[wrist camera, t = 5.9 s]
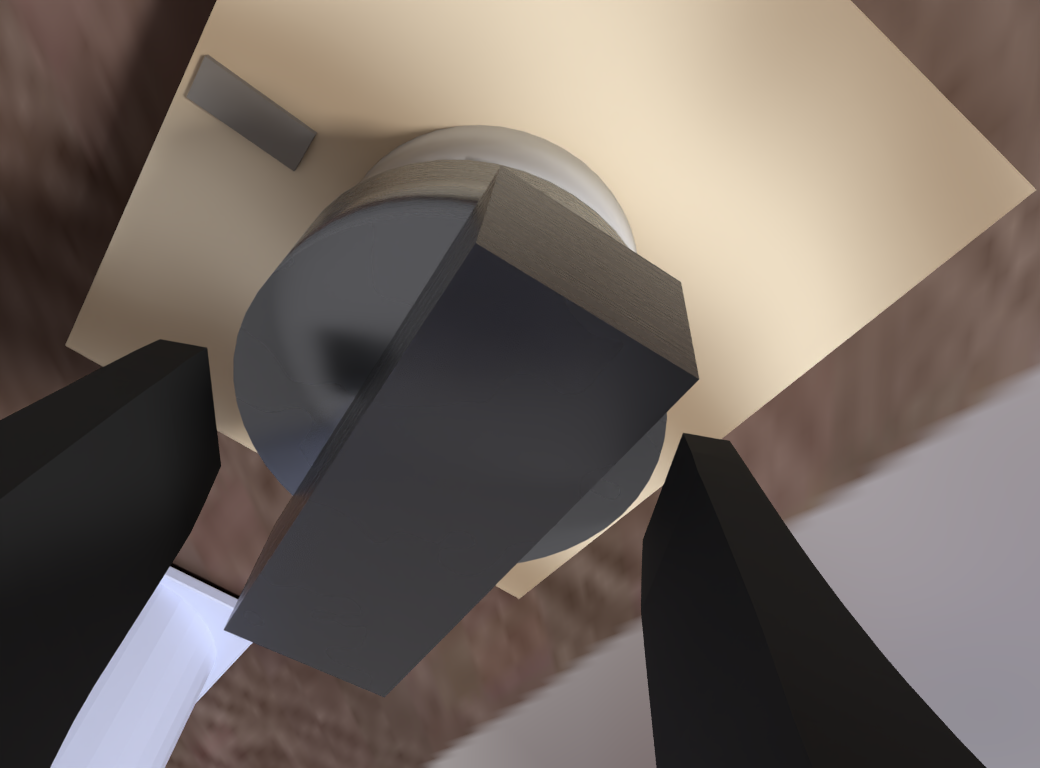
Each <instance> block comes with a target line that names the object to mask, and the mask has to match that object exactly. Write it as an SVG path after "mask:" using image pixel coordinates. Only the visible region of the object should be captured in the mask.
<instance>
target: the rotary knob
mask: <svg viewBox="0 0 1040 768" xmlns="http://www.w3.org/2000/svg"><path fill="white" fill-rule="evenodd" d="M698 380H699V375H698V369H697V364H696V359H695V353H694V348H693V343H692V337H691V332H690V327H689V321H688V316H687V311H686V305H685V300H684V295H683V289H682V284H681V282H680V281H679V280H677V279H676V278H674V277H673V276H671V275H669V274H668V273H666V272H665V271H663V270H662V269H660V268H659V267H657V266H656V265H654V264H652V263H651V262H649V261H648V260H646V259H645V258H643V257H642V256H640V255H639V254H637V253H635V252H634V251H632V250H631V249H629V248H628V246H627V245H626V244H625V243H624V241H623V240H622V239H621V237H620V236H619V235H618V233H617V232H616V231H615V230H614V229H613V228H612V227H611V226H610V225H609V224H608V223H607V222H606V221H605V220H604V219H603V218H602V217H601V216H600V215H599V214H598V213H597V212H596V211H594V210H593V209H592V208H590V207H589V206H588V205H586V204H585V203H584V202H582V201H581V200H580V199H578V198H577V197H576V196H574V195H573V194H571V193H569V192H567V191H566V190H564V189H562V188H560V187H559V186H557V185H555V184H553V183H551V182H550V181H547V180H545V179H542V178H540V177H537V176H535V175H532V174H530V173H527V172H525V171H522V170H518V169H514V168H511V167H507V166H503V165H499V164H495V163H487V162H480V161H472V160H434V161H427V162H419V163H412V164H408V165H405V166H401V167H397V168H394V169H390V170H387V171H384V172H382V173H380V174H377V175H375V176H373V177H370V178H368V179H366V180H364V181H362V182H360V183H358V184H357V185H355V186H354V187H352V188H350V189H349V190H347V191H346V192H344V193H343V194H341V195H340V196H339V197H338V198H336V199H335V200H334V201H333V202H332V203H331V204H330V205H328V206H327V207H326V208H325V209H324V210H323V211H322V212H321V213H320V215H319V216H318V217H317V218H316V219H315V220H314V222H313V223H312V224H311V225H310V226H309V228H308V229H307V230H306V231H305V233H304V234H303V235H302V237H301V238H300V239H299V240H298V242H297V243H296V244H295V245H294V247H293V248H292V249H291V250H290V252H289V253H288V254H287V256H286V257H285V258H284V259H283V261H282V262H281V263H280V264H279V266H278V267H277V268H276V270H275V271H274V272H273V273H272V275H271V276H270V277H269V278H268V280H267V281H266V282H265V283H264V285H263V286H262V287H261V289H260V290H259V291H258V292H257V294H256V296H255V298H254V299H253V301H252V303H251V305H250V306H249V308H248V310H247V311H246V313H245V316H244V319H243V321H242V324H241V327H240V330H239V332H238V335H237V341H236V346H235V352H234V358H233V382H234V388H235V395H236V401H237V405H238V409H239V412H240V415H241V418H242V421H243V425H244V427H245V429H246V431H247V433H248V435H249V437H250V440H251V442H252V444H253V446H254V447H255V449H256V451H257V452H258V454H259V455H260V457H261V458H262V460H263V462H264V463H265V465H266V466H267V467H268V469H269V470H270V471H271V472H272V473H273V475H274V476H275V477H276V478H277V480H278V481H279V482H280V483H281V484H282V485H283V486H284V487H285V488H286V489H287V490H288V491H289V492H290V493H291V494H292V495H293V496H292V498H291V500H290V501H289V503H288V504H287V506H286V508H285V509H284V511H283V512H282V514H281V515H280V517H279V519H278V520H277V522H276V523H275V525H274V527H273V529H272V531H271V533H270V536H269V538H268V540H267V542H266V544H265V546H264V548H263V550H262V552H261V554H260V556H259V558H258V560H257V562H256V564H255V566H254V568H253V570H252V572H251V574H250V576H249V579H248V581H247V583H246V585H245V587H244V589H243V591H242V593H241V595H240V597H239V599H238V601H237V603H236V605H235V607H234V609H233V611H232V613H231V615H230V617H229V619H228V621H227V624H226V626H225V628H224V631H227V632H229V633H232V634H234V635H236V636H239V637H241V638H244V639H246V640H248V641H251V642H253V643H255V644H258V645H260V646H263V647H265V648H267V649H270V650H272V651H275V652H277V653H279V654H282V655H284V656H287V657H289V658H291V659H294V660H296V661H299V662H301V663H303V664H306V665H308V666H311V667H313V668H315V669H318V670H320V671H323V672H325V673H327V674H330V675H332V676H335V677H337V678H339V679H342V680H344V681H346V682H349V683H351V684H354V685H356V686H358V687H361V688H363V689H366V690H368V691H370V692H373V693H375V694H378V695H380V696H382V697H385V696H386V695H387V694H388V693H389V692H390V691H391V690H392V689H393V688H394V687H395V686H396V685H397V684H398V683H399V682H400V681H401V680H402V679H403V678H404V677H405V676H406V675H407V674H408V673H409V672H410V671H411V670H412V669H413V668H414V667H415V666H416V665H417V664H418V663H419V662H420V661H421V660H422V659H423V658H424V657H425V656H426V655H427V654H428V653H429V652H430V651H431V650H432V649H433V648H434V647H435V646H436V645H437V644H438V643H439V642H440V641H441V640H442V639H443V638H444V637H445V636H446V635H447V634H448V633H449V632H450V631H451V630H452V629H453V628H454V627H455V626H456V625H457V624H458V623H459V622H460V621H461V620H462V619H463V618H464V616H465V615H466V614H467V613H468V612H469V611H470V610H471V609H472V608H473V607H474V606H475V605H476V604H477V603H478V602H479V601H480V600H481V599H482V598H483V597H484V596H485V595H486V594H487V593H488V592H489V591H490V590H491V589H492V588H493V587H494V586H495V585H496V584H497V583H498V582H499V581H500V580H501V579H502V578H503V577H504V576H505V575H506V574H507V573H508V572H509V571H510V570H511V569H512V568H513V567H514V566H515V565H516V564H517V563H523V562H527V561H531V560H535V559H540V558H544V557H547V556H550V555H553V554H556V553H559V552H562V551H565V550H567V549H569V548H571V547H573V546H576V545H578V544H580V543H582V542H584V541H586V540H588V539H589V538H591V537H593V536H594V535H596V534H597V533H599V532H601V531H602V530H604V529H605V528H607V527H608V526H609V525H610V524H611V523H613V522H614V521H615V520H616V519H617V518H619V517H620V516H621V515H622V514H623V513H624V512H625V511H626V510H627V509H628V508H629V507H630V506H631V505H632V503H633V502H634V501H635V500H636V499H637V498H638V496H639V495H640V493H641V492H642V491H643V489H644V488H645V486H646V485H647V483H648V482H649V480H650V478H651V476H652V474H653V472H654V469H655V467H656V465H657V463H658V461H659V457H660V454H661V450H662V447H663V443H664V440H665V431H666V422H667V412H668V411H669V410H670V409H671V408H672V407H673V406H674V405H675V404H676V403H677V402H678V400H679V399H680V398H681V397H682V396H683V395H684V394H685V393H686V392H687V391H688V390H689V389H690V388H691V387H692V386H693V385H694V384H695V383H696V382H697V381H698Z"/></svg>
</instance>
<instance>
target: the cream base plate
mask: <svg viewBox="0 0 1040 768" xmlns="http://www.w3.org/2000/svg"><path fill="white" fill-rule="evenodd" d="M434 160H472V161H480V162H487V163H495V164H499V165H503V166H507V167H511V168H514V169H518V170H522V171H525V172H527V173H530V174H532V175H535V176H537V177H540V178H542V179H545V180H547V181H550V182H551V183H553V184H555V185H557V186H559V187H560V188H562V189H564V190H566V191H567V192H569V193H571V194H573V195H574V196H576V197H577V198H578V199H580V200H581V201H582V202H584V203H585V204H586V205H588V206H589V207H590V208H592V209H593V210H594V211H596V212H597V213H598V214H599V215H600V216H601V217H602V218H603V219H604V220H605V221H606V222H607V223H608V224H609V225H610V226H611V227H612V228H613V229H614V230H615V231H616V232H617V233H618V235H619V236H620V237H621V239H622V240H623V241H624V243H625V244H626V245H627V246H628V248H629V249H631V250H632V251H634V252H635V253H637V254H639V255H640V256H642V257H643V258H645V259H646V260H648V261H649V262H651V263H652V264H654V265H656V266H657V267H659V268H660V269H662V270H663V271H665V272H666V273H668V274H669V275H671V276H673V277H674V278H676V279H677V280H679V281H680V282H681V284H682V289H683V295H684V300H685V305H686V311H687V316H688V321H689V327H690V332H691V337H692V343H693V348H694V353H695V359H696V364H697V369H698V375H699V380H698V381H697V382H696V383H695V384H694V385H693V386H692V387H691V388H690V389H689V390H688V391H687V392H686V393H685V394H684V395H683V396H682V397H681V398H680V399H679V400H678V402H677V403H676V404H675V405H674V406H673V407H672V408H671V409H670V410H669V411H668V412H667V422H666V431H665V440H664V443H663V447H662V450H661V454H660V457H659V461H658V463H657V465H656V467H655V469H654V472H653V474H652V476H651V478H650V480H649V482H648V483H647V485H646V486H645V488H644V489H643V491H642V492H641V493H640V495H639V496H638V498H637V499H636V500H635V501H634V502H633V503H632V505H631V506H630V507H629V508H628V509H627V510H626V511H625V512H624V513H623V514H622V515H621V516H620V517H619V518H617V519H616V520H615V521H614V522H613V523H611V524H610V525H609V526H608V527H607V528H605V529H604V530H602V531H601V532H599V533H597V534H596V535H594V536H593V537H591V538H589V539H588V540H586V541H584V542H582V543H580V544H578V545H576V546H573V547H571V548H569V549H567V550H565V551H562V552H559V553H556V554H553V555H550V556H547V557H544V558H540V559H535V560H531V561H527V562H523V563H517V564H516V565H515V566H514V567H513V568H512V569H511V570H510V571H509V572H508V573H507V574H506V575H505V576H504V577H503V578H502V579H501V580H500V581H499V582H498V583H497V584H496V585H495V586H497V587H499V588H501V589H502V590H504V591H506V592H508V593H510V594H511V595H513V596H515V597H517V598H521V597H522V596H523V595H524V594H526V593H527V592H528V591H530V590H531V589H532V588H533V587H535V586H536V585H537V584H538V583H540V582H541V581H542V580H543V579H545V578H546V577H547V576H549V575H550V574H551V573H552V572H554V571H555V570H556V569H557V568H559V567H560V566H561V565H562V564H564V563H565V562H566V561H567V560H569V559H570V558H571V557H573V556H574V555H575V554H576V553H578V552H579V551H580V550H581V549H583V548H584V547H585V546H586V545H588V544H589V543H590V542H592V541H593V540H594V539H595V538H597V537H598V536H599V535H600V534H602V533H603V532H604V531H605V530H607V529H608V528H609V527H610V526H612V525H613V524H614V523H616V522H617V521H618V520H619V519H621V518H622V517H623V516H624V515H626V514H627V513H628V512H629V511H631V510H632V509H633V508H635V507H636V506H637V505H638V504H640V503H641V502H642V501H643V500H645V499H646V498H647V497H648V496H650V495H651V494H652V493H653V492H655V491H656V490H657V489H659V488H660V487H661V486H662V485H664V482H665V479H666V477H667V474H668V471H669V469H670V466H671V463H672V461H673V458H674V455H675V453H676V450H677V447H678V445H679V442H680V439H681V437H682V434H683V433H688V434H694V435H699V436H705V437H711V438H716V439H722V438H723V437H724V436H726V435H727V434H728V433H729V432H731V431H732V430H733V429H734V428H736V427H737V426H738V425H739V424H741V423H742V422H743V421H745V420H746V419H747V418H748V417H750V416H751V415H752V414H753V413H755V412H756V411H757V410H758V409H760V408H761V407H762V406H763V405H765V404H766V403H767V402H769V401H770V400H771V399H772V398H774V397H775V396H776V395H777V394H779V393H780V392H781V391H782V390H784V389H785V388H786V387H788V386H789V385H790V384H791V383H793V382H794V381H795V380H796V379H798V378H799V377H800V376H801V375H803V374H804V373H805V372H806V371H808V370H809V369H810V368H812V367H813V366H814V365H815V364H817V363H818V362H819V361H820V360H822V359H823V358H824V357H825V356H827V355H828V354H829V353H831V352H832V351H833V350H834V349H836V348H837V347H838V346H839V345H841V344H842V343H843V342H844V341H846V340H847V339H848V338H849V337H851V336H852V335H853V334H855V333H856V332H857V331H858V330H860V329H861V328H862V327H863V326H865V325H866V324H867V323H868V322H870V321H871V320H872V319H874V318H875V317H876V316H877V315H879V314H880V313H881V312H882V311H884V310H885V309H886V308H887V307H889V306H890V305H891V304H892V303H894V302H895V301H896V300H898V299H899V298H900V297H901V296H903V295H904V294H905V293H906V292H908V291H909V290H910V289H911V288H913V287H914V286H915V285H917V284H918V283H919V282H920V281H922V280H923V279H924V278H925V277H927V276H928V275H929V274H930V273H932V272H933V271H934V270H935V269H937V268H938V267H939V266H941V265H942V264H943V263H944V262H946V261H947V260H948V259H949V258H951V257H952V256H953V255H954V254H956V253H957V252H958V251H960V250H961V249H962V248H963V247H965V246H966V245H967V244H968V243H970V242H971V241H972V240H973V239H975V238H976V237H977V236H978V235H980V234H981V233H982V232H984V231H985V230H986V229H987V228H989V227H990V226H991V225H992V224H994V223H995V222H996V221H997V220H999V219H1000V218H1001V217H1003V216H1004V215H1005V214H1006V213H1008V212H1009V211H1010V210H1011V209H1013V208H1014V207H1015V206H1016V205H1018V204H1019V203H1020V202H1021V201H1023V200H1024V199H1025V198H1027V197H1028V196H1029V195H1030V194H1032V193H1033V192H1034V191H1035V190H1036V189H1035V188H1034V187H1033V186H1032V185H1031V184H1030V183H1029V182H1028V181H1027V180H1026V179H1025V178H1024V177H1023V176H1022V175H1021V174H1020V173H1019V172H1018V171H1017V170H1016V169H1015V168H1014V167H1013V166H1012V165H1011V164H1010V163H1009V162H1008V161H1007V160H1006V158H1005V157H1004V156H1003V155H1002V154H1001V153H1000V152H999V151H998V150H997V149H996V148H995V147H994V146H993V145H992V144H991V143H990V142H989V141H988V140H987V139H986V138H985V137H984V136H983V135H982V134H981V133H980V132H979V131H978V130H977V129H976V128H975V127H974V126H973V125H972V124H971V123H970V122H969V121H968V120H967V119H966V118H965V117H964V116H963V115H962V114H961V113H960V112H959V111H958V110H957V108H956V107H955V106H954V105H953V104H952V103H951V102H950V101H949V100H948V99H947V98H946V97H945V96H944V95H943V94H942V93H941V92H940V91H939V90H938V89H937V88H936V87H935V86H934V85H933V84H932V83H931V82H930V81H929V80H928V79H927V78H926V77H925V76H924V75H923V74H922V73H921V72H920V71H919V70H918V69H917V68H916V67H915V66H914V65H913V64H912V63H911V62H910V61H909V59H908V58H907V57H906V56H905V55H904V54H903V53H902V52H901V51H900V50H899V49H898V48H897V47H896V46H895V45H894V44H893V43H892V42H891V41H890V40H889V39H888V38H887V37H886V36H885V35H884V34H883V33H882V32H881V31H880V30H879V29H878V28H877V27H876V26H875V25H874V24H873V23H872V22H871V21H870V20H869V19H868V18H867V17H866V16H865V15H864V14H863V13H862V12H861V11H860V9H859V8H858V7H857V6H856V5H855V4H854V3H853V2H852V1H851V0H217V1H216V3H215V5H214V8H213V10H212V12H211V14H210V17H209V19H208V21H207V24H206V26H205V28H204V30H203V33H202V35H201V37H200V39H199V42H198V44H197V46H196V49H195V51H194V53H193V55H192V58H191V60H190V62H189V65H188V67H187V69H186V71H185V74H184V76H183V78H182V81H181V83H180V85H179V87H178V90H177V92H176V94H175V96H174V99H173V101H172V103H171V106H170V108H169V110H168V112H167V115H166V117H165V119H164V122H163V124H162V126H161V128H160V131H159V133H158V135H157V137H156V140H155V142H154V144H153V147H152V149H151V151H150V153H149V156H148V158H147V160H146V163H145V165H144V167H143V169H142V172H141V174H140V176H139V178H138V181H137V183H136V185H135V188H134V190H133V192H132V194H131V197H130V199H129V201H128V204H127V206H126V208H125V210H124V213H123V215H122V217H121V219H120V222H119V224H118V226H117V229H116V231H115V233H114V235H113V238H112V240H111V242H110V245H109V247H108V249H107V251H106V254H105V256H104V258H103V260H102V263H101V265H100V267H99V270H98V272H97V274H96V276H95V279H94V281H93V283H92V286H91V288H90V290H89V292H88V295H87V297H86V299H85V301H84V304H83V306H82V308H81V311H80V313H79V315H78V317H77V320H76V322H75V324H74V327H73V329H72V331H71V333H70V336H69V338H68V340H67V342H66V345H65V346H67V347H69V348H70V349H72V350H74V351H76V352H78V353H79V354H81V355H83V356H85V357H87V358H88V359H90V360H92V361H94V362H95V363H97V364H99V365H101V366H103V367H104V366H106V365H108V364H110V363H112V362H114V361H116V360H118V359H120V358H122V357H124V356H126V355H127V354H129V353H131V352H133V351H135V350H137V349H140V348H142V347H144V346H146V345H148V344H150V343H152V342H155V341H157V340H159V339H162V340H168V341H173V342H179V343H185V344H190V345H196V346H201V347H207V349H208V358H209V366H210V375H211V384H212V392H213V401H214V410H215V418H216V427H217V431H219V432H221V433H223V434H225V435H226V436H228V437H230V438H232V439H234V440H235V441H237V442H239V443H241V444H242V445H244V446H246V447H248V448H250V449H251V450H253V451H255V452H257V451H256V449H255V447H254V446H253V444H252V442H251V440H250V437H249V435H248V433H247V431H246V429H245V427H244V425H243V421H242V418H241V415H240V412H239V409H238V405H237V401H236V395H235V388H234V382H233V358H234V352H235V346H236V341H237V335H238V332H239V330H240V327H241V324H242V321H243V319H244V316H245V313H246V311H247V310H248V308H249V306H250V305H251V303H252V301H253V299H254V298H255V296H256V294H257V292H258V291H259V290H260V289H261V287H262V286H263V285H264V283H265V282H266V281H267V280H268V278H269V277H270V276H271V275H272V273H273V272H274V271H275V270H276V268H277V267H278V266H279V264H280V263H281V262H282V261H283V259H284V258H285V257H286V256H287V254H288V253H289V252H290V250H291V249H292V248H293V247H294V245H295V244H296V243H297V242H298V240H299V239H300V238H301V237H302V235H303V234H304V233H305V231H306V230H307V229H308V228H309V226H310V225H311V224H312V223H313V222H314V220H315V219H316V218H317V217H318V216H319V215H320V213H321V212H322V211H323V210H324V209H325V208H326V207H327V206H328V205H330V204H331V203H332V202H333V201H334V200H335V199H336V198H338V197H339V196H340V195H341V194H343V193H344V192H346V191H347V190H349V189H350V188H352V187H354V186H355V185H357V184H358V183H360V182H362V181H364V180H366V179H368V178H370V177H373V176H375V175H377V174H380V173H382V172H384V171H387V170H390V169H394V168H397V167H401V166H405V165H408V164H412V163H419V162H427V161H434ZM257 453H258V452H257Z"/></svg>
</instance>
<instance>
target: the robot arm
mask: <svg viewBox="0 0 1040 768" xmlns="http://www.w3.org/2000/svg"><path fill="white" fill-rule="evenodd" d="M220 467H221V462H220V453H219V444H218V436H217V427H216V418H215V410H214V401H213V392H212V384H211V375H210V366H209V358H208V349H207V347H201V346H196V345H190V344H185V343H179V342H173V341H168V340H162V339H159V340H157V341H155V342H152V343H150V344H148V345H146V346H144V347H142V348H140V349H137V350H135V351H133V352H131V353H129V354H127V355H126V356H124V357H122V358H120V359H118V360H116V361H114V362H112V363H110V364H108V365H106V366H104V367H102V368H100V369H98V370H97V371H95V372H93V373H91V374H89V375H87V376H85V377H83V378H81V379H79V380H77V381H76V382H74V383H72V384H70V385H68V386H66V387H64V388H62V389H60V390H58V391H56V392H54V393H52V394H50V395H49V396H47V397H45V398H43V399H41V400H39V401H37V402H35V403H33V404H31V405H29V406H27V407H25V408H23V409H21V410H19V411H17V412H15V413H13V414H12V415H10V416H8V417H6V418H4V419H2V420H0V768H165V766H166V764H167V762H168V760H169V758H170V755H171V753H172V751H173V749H174V747H175V745H176V743H177V741H178V739H179V737H180V735H181V732H182V730H183V728H184V726H185V724H186V722H187V720H188V718H189V716H190V714H191V712H192V710H193V707H194V705H195V704H196V702H197V701H198V700H199V699H200V698H201V697H202V696H203V695H204V694H205V693H206V692H207V691H208V690H209V689H210V687H211V686H212V685H213V684H214V683H215V682H216V681H217V680H218V679H219V678H220V677H221V676H222V675H223V674H224V673H225V671H226V670H227V669H228V668H229V667H230V666H231V665H232V664H233V663H234V662H235V661H236V660H237V659H238V658H239V656H240V655H241V654H242V653H243V652H244V651H245V650H246V649H247V648H248V647H249V646H250V645H251V644H252V643H253V642H251V641H248V640H246V639H244V638H241V637H239V636H236V635H234V634H232V633H229V632H227V631H224V628H225V626H226V624H227V621H228V619H229V617H230V615H231V613H232V611H233V609H234V607H235V605H236V603H237V601H238V599H236V598H234V597H232V596H230V595H228V594H226V593H224V592H222V591H220V590H218V589H216V588H214V587H212V586H210V585H208V584H206V583H204V582H202V581H200V580H198V579H196V578H193V577H191V576H189V575H187V574H185V573H183V572H181V571H179V570H177V569H175V568H173V567H171V566H170V565H171V564H172V562H173V561H174V559H175V557H176V556H177V554H178V553H179V551H180V549H181V548H182V546H183V544H184V543H185V541H186V539H187V538H188V536H189V534H190V533H191V531H192V529H193V527H194V524H195V522H196V520H197V518H198V516H199V514H200V512H201V510H202V508H203V506H204V503H205V501H206V499H207V497H208V494H209V492H210V490H211V488H212V485H213V483H214V481H215V478H216V476H217V474H218V472H219V469H220ZM641 615H642V627H643V637H644V647H645V658H646V668H647V678H648V688H649V697H650V708H651V717H652V727H653V737H654V746H655V756H656V765H657V768H986V767H985V766H984V765H983V764H982V763H981V762H980V761H979V760H978V759H977V758H976V757H975V756H974V754H973V753H972V752H971V751H970V750H969V749H968V748H967V747H966V746H965V745H964V744H963V743H962V742H961V741H960V740H959V739H958V738H957V737H956V736H955V735H954V734H953V732H952V731H951V730H950V729H949V728H948V727H947V726H946V725H945V723H944V722H943V721H942V720H941V719H940V718H939V717H938V716H937V715H936V714H935V713H934V712H933V710H932V709H931V708H930V707H929V706H928V705H927V704H926V703H925V702H924V700H923V699H922V698H921V697H920V696H919V695H918V694H917V693H916V692H915V690H914V689H913V688H912V687H911V686H910V685H909V684H908V683H907V682H906V680H905V679H904V678H903V677H902V676H901V675H900V674H899V672H898V671H897V670H896V669H895V668H894V666H892V664H891V663H890V662H889V661H888V659H887V658H886V657H885V656H884V655H883V653H882V652H881V651H880V650H879V649H878V647H877V646H876V645H875V644H874V643H873V641H872V640H871V638H870V637H869V636H868V635H867V634H866V632H865V631H864V630H863V629H862V627H861V626H860V625H859V624H858V622H857V621H856V620H855V618H854V617H853V616H852V615H851V613H850V612H849V611H848V610H847V609H846V607H845V606H844V605H843V603H842V602H841V601H840V599H839V598H838V597H837V596H836V594H835V593H834V591H833V590H832V589H831V588H830V586H829V585H828V583H827V582H826V581H825V579H824V578H823V577H822V575H821V574H820V573H819V571H818V570H817V569H816V567H815V566H814V565H813V563H812V562H811V560H810V559H809V557H808V556H807V555H806V553H805V552H804V550H803V549H802V548H801V546H800V545H799V543H798V542H797V541H796V539H795V538H794V536H793V535H792V533H791V532H790V530H789V529H788V527H787V526H786V525H785V523H784V522H783V520H782V519H781V517H780V516H779V514H778V513H777V511H776V510H775V508H774V507H773V505H772V504H771V502H770V501H769V499H768V498H767V496H766V495H765V493H764V492H763V490H762V489H761V487H760V486H759V484H758V483H757V481H756V480H755V478H754V477H753V475H752V474H751V472H750V471H749V469H748V468H747V466H746V465H745V463H744V461H743V460H742V458H741V457H740V455H739V454H738V452H737V451H736V450H735V448H734V447H733V445H732V444H731V442H730V441H727V440H722V439H716V438H711V437H705V436H699V435H694V434H688V433H683V434H682V437H681V439H680V442H679V445H678V447H677V450H676V453H675V455H674V458H673V461H672V463H671V466H670V469H669V471H668V474H667V477H666V479H665V482H664V485H663V487H662V490H661V493H660V495H659V498H658V501H657V504H656V506H655V509H654V512H653V514H652V517H651V520H650V522H649V525H648V528H647V530H646V533H645V536H644V538H643V550H642V584H641Z"/></svg>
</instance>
